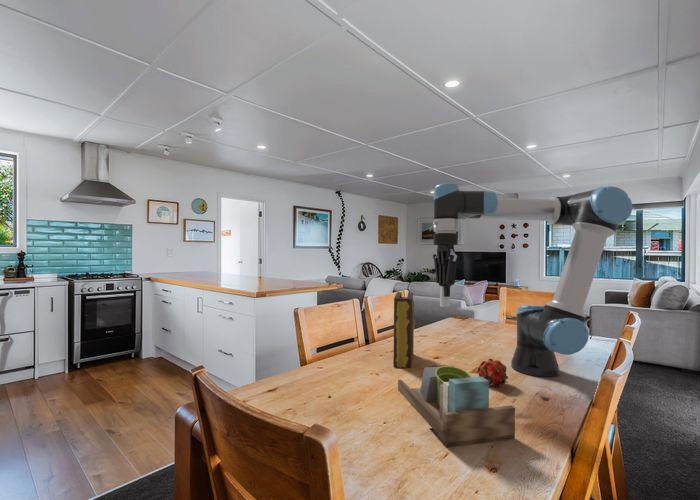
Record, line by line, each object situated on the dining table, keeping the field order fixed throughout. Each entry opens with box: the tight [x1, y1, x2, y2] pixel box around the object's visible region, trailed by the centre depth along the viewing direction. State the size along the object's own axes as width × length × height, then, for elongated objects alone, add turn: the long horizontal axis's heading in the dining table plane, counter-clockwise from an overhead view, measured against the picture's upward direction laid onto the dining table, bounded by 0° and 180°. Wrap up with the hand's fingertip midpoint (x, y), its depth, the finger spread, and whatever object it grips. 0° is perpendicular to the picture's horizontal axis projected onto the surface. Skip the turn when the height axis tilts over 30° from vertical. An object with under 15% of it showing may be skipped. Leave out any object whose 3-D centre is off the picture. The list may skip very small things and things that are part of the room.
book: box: [392, 291, 416, 369], centre depth 136 cm, size 22×8×25 cm, turn 168°
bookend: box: [420, 365, 456, 402], centre depth 98 cm, size 9×4×8 cm, turn 103°
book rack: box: [397, 376, 516, 448], centre depth 91 cm, size 17×29×13 cm, turn 13°
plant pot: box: [435, 365, 473, 406], centre depth 91 cm, size 9×9×9 cm
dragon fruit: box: [477, 358, 509, 388], centre depth 111 cm, size 8×8×12 cm
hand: (444, 306), depth 112 cm, fingers closed
